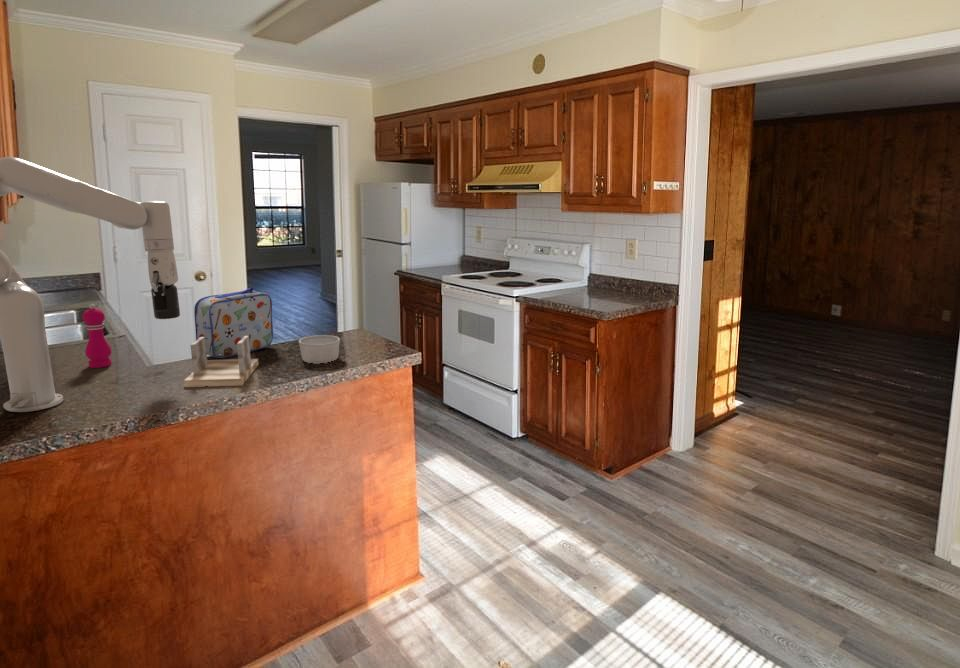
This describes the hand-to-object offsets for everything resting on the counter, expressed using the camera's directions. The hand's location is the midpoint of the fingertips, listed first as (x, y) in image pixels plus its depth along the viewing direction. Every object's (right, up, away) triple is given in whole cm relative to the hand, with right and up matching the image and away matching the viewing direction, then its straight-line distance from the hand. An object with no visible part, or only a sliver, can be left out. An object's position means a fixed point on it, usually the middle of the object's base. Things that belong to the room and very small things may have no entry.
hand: (166, 306), depth 186 cm
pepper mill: (-30, -18, +19) cm, 40 cm away
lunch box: (+8, -15, +35) cm, 39 cm away
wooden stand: (+13, -21, +8) cm, 26 cm away
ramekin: (+38, -17, +26) cm, 49 cm away
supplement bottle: (0, -3, +1) cm, 3 cm away
